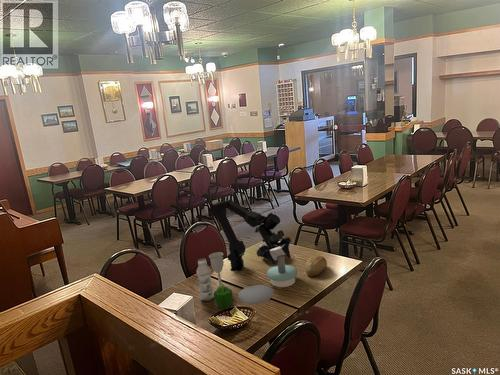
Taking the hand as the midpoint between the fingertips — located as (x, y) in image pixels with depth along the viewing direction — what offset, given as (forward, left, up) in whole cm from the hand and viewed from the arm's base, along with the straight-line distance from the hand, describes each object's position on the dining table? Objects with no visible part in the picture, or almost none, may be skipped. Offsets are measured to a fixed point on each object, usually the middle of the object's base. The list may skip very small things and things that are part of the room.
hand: (282, 261), depth 173 cm
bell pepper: (-26, -20, -12) cm, 35 cm away
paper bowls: (-9, +30, -12) cm, 33 cm away
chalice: (-32, -4, -12) cm, 34 cm away
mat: (-13, -11, -12) cm, 21 cm away
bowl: (-1, +1, -12) cm, 12 cm away
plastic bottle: (-36, -14, -12) cm, 40 cm away
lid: (-1, +1, -7) cm, 7 cm away
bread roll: (+16, +11, -12) cm, 23 cm away
